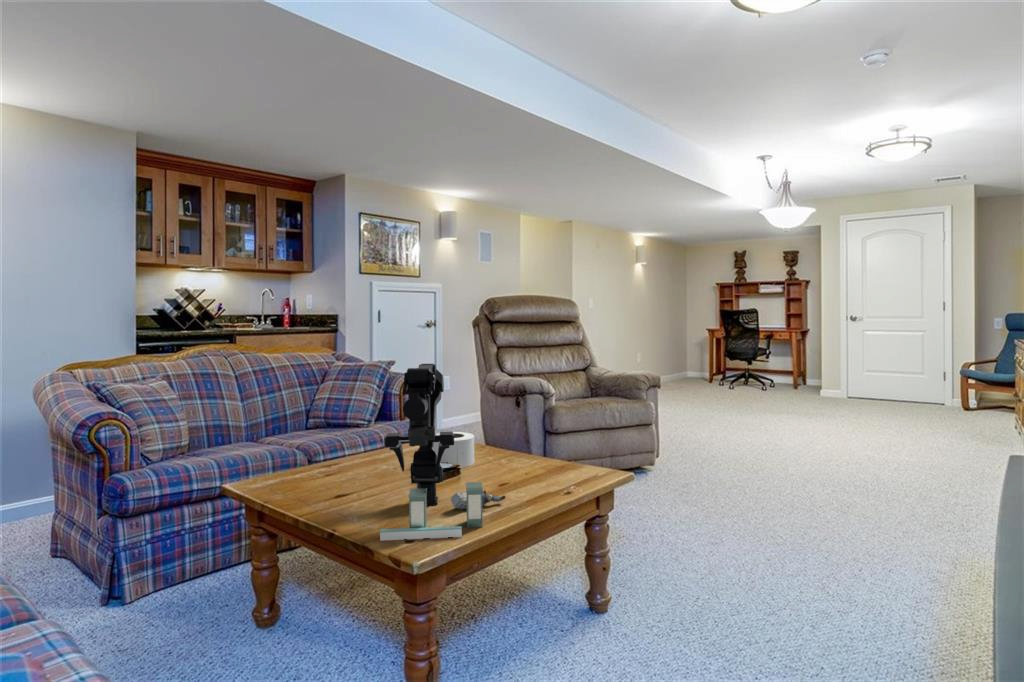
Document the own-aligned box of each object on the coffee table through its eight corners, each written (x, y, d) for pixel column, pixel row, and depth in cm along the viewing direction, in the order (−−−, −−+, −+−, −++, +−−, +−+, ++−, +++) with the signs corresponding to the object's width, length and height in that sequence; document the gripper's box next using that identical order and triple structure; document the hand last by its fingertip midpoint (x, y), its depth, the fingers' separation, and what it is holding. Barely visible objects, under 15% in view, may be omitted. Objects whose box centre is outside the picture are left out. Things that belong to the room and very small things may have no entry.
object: (472, 469, 210) (472, 439, 210) (429, 469, 211) (429, 439, 210) (476, 458, 226) (475, 431, 225) (436, 458, 226) (436, 431, 226)
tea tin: (411, 528, 151) (410, 488, 150) (427, 527, 151) (426, 488, 151) (409, 536, 146) (408, 494, 145) (426, 535, 146) (425, 494, 146)
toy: (508, 499, 169) (468, 503, 159) (485, 514, 175) (446, 518, 165) (500, 477, 172) (461, 480, 162) (479, 492, 179) (440, 496, 168)
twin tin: (466, 521, 156) (465, 482, 156) (481, 520, 157) (481, 482, 156) (466, 528, 151) (466, 488, 151) (482, 527, 151) (482, 487, 151)
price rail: (380, 538, 144) (380, 529, 144) (461, 535, 146) (461, 526, 146) (380, 540, 143) (380, 531, 142) (461, 537, 145) (461, 528, 144)
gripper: (381, 419, 149) (382, 479, 150) (453, 418, 151) (454, 477, 152) (386, 412, 160) (387, 468, 161) (453, 411, 162) (454, 466, 163)
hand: (420, 470), depth 159 cm, fingers open, 9 cm apart
